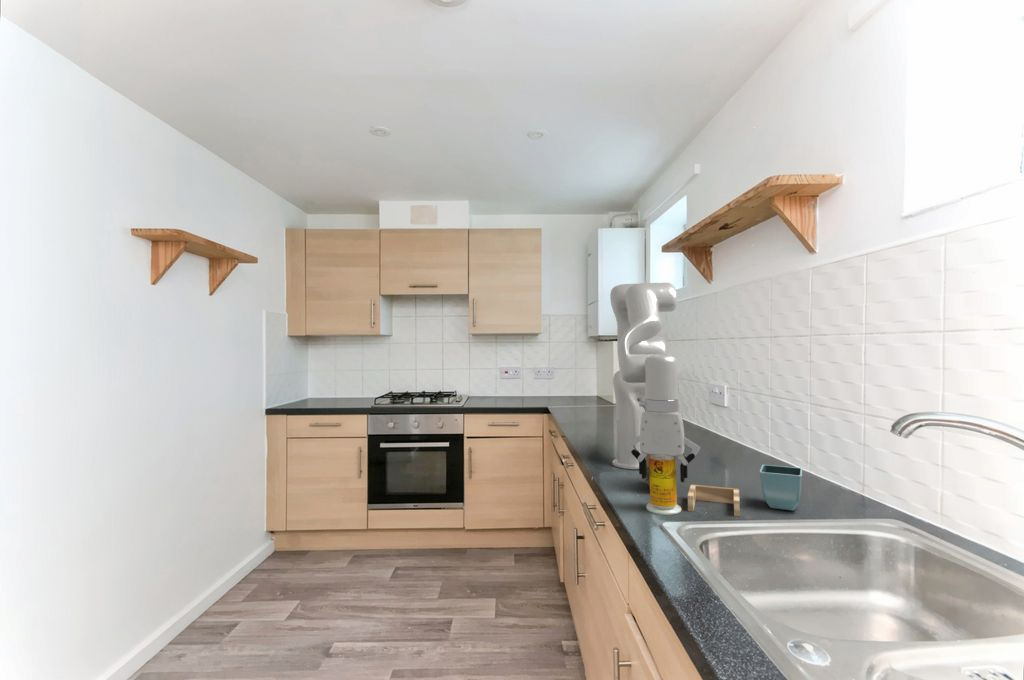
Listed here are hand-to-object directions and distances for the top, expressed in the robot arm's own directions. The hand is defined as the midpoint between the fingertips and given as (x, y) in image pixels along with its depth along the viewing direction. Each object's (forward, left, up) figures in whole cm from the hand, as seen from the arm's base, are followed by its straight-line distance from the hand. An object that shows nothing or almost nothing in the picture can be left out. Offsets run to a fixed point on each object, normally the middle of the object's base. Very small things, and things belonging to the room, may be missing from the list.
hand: (663, 478), depth 119 cm
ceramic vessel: (-17, -3, -7) cm, 19 cm away
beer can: (0, 0, -7) cm, 7 cm away
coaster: (0, 0, -7) cm, 7 cm away
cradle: (-6, +11, -7) cm, 14 cm away
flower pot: (-12, +26, -7) cm, 30 cm away
